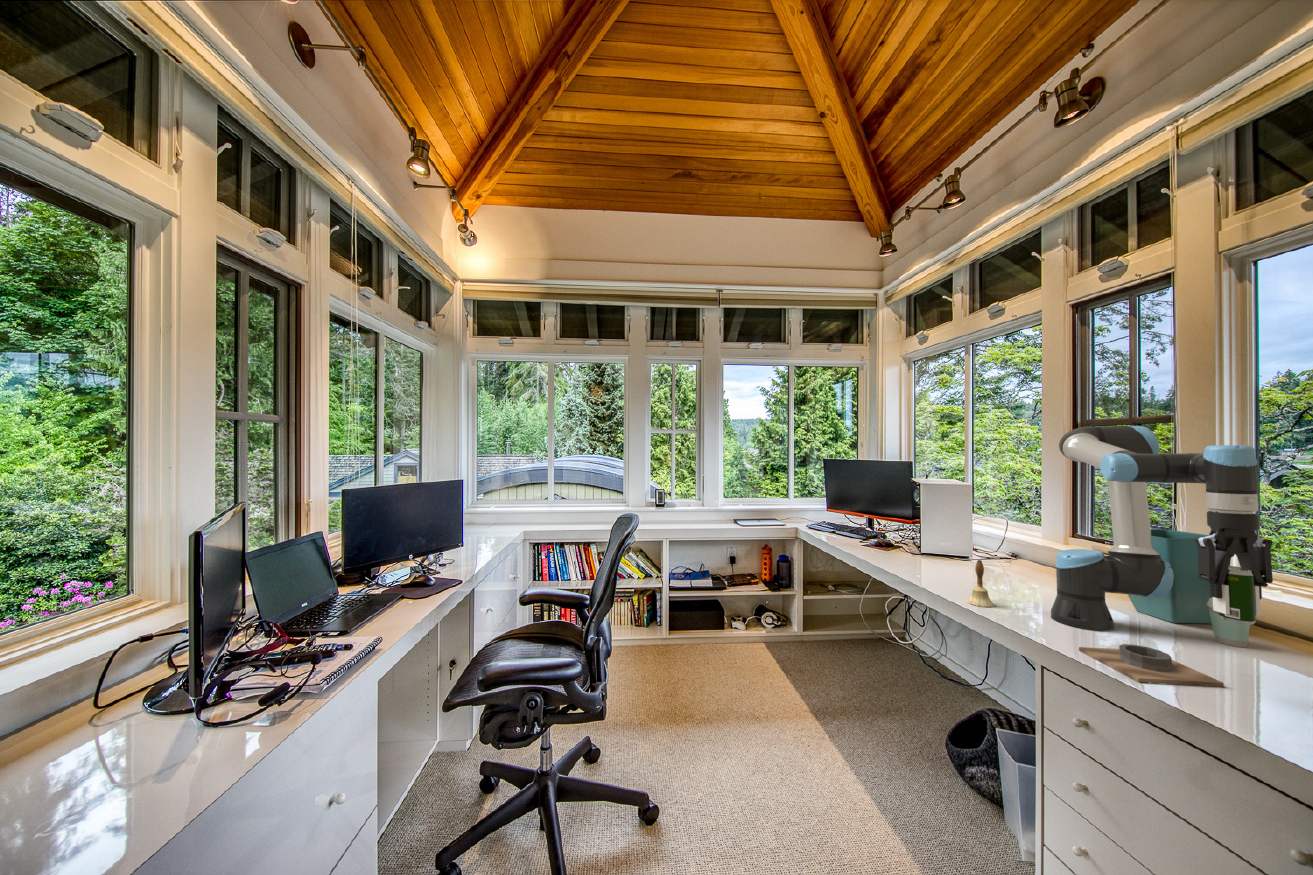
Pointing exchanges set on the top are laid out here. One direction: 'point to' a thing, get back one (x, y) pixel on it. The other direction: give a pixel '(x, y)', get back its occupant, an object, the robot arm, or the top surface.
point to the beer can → (1240, 596)
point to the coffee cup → (1228, 629)
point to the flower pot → (1178, 580)
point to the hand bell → (980, 589)
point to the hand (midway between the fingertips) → (1236, 612)
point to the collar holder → (1149, 665)
